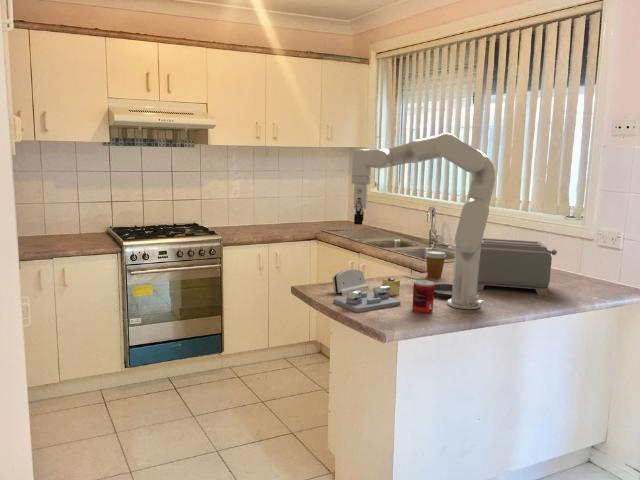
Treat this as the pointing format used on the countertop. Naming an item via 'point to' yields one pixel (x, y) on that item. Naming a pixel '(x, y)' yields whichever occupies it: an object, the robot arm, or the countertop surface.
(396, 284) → the coupler
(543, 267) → the toaster
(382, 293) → the shaft
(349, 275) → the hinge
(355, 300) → the shaft
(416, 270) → the countertop surface
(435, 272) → the disposable coffee cup
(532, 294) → the countertop surface
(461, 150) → the robot arm
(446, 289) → the frying pan
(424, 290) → the canned food
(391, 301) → the board
